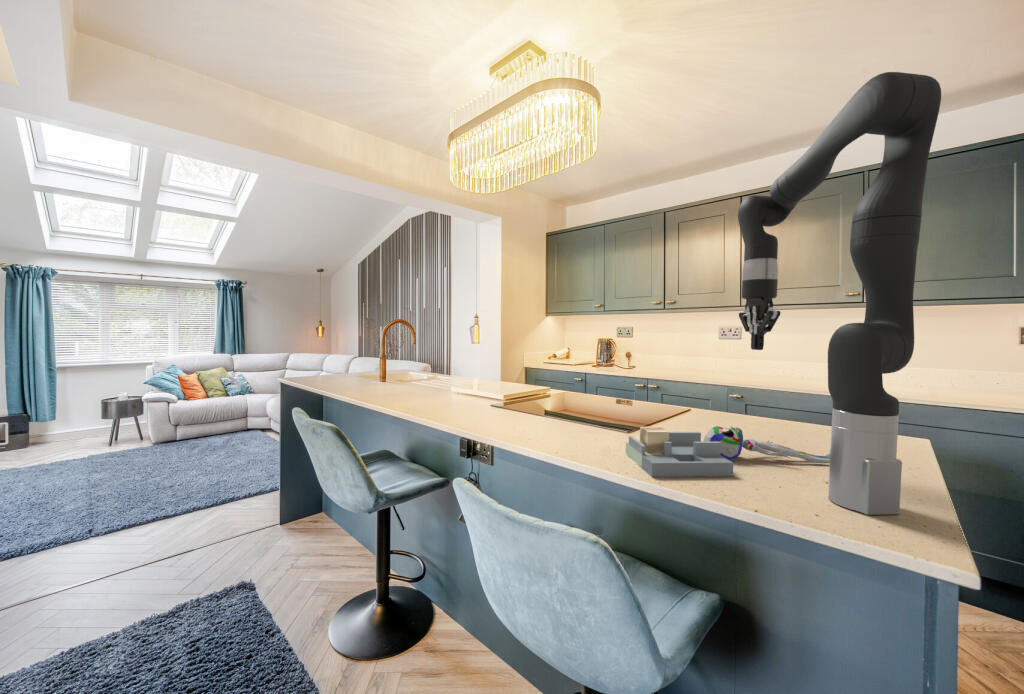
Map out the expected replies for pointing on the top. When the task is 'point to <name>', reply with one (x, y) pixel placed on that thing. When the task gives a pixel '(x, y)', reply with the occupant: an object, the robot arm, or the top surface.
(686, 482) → the top surface
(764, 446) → the toy
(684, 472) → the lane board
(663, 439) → the block
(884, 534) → the top surface
